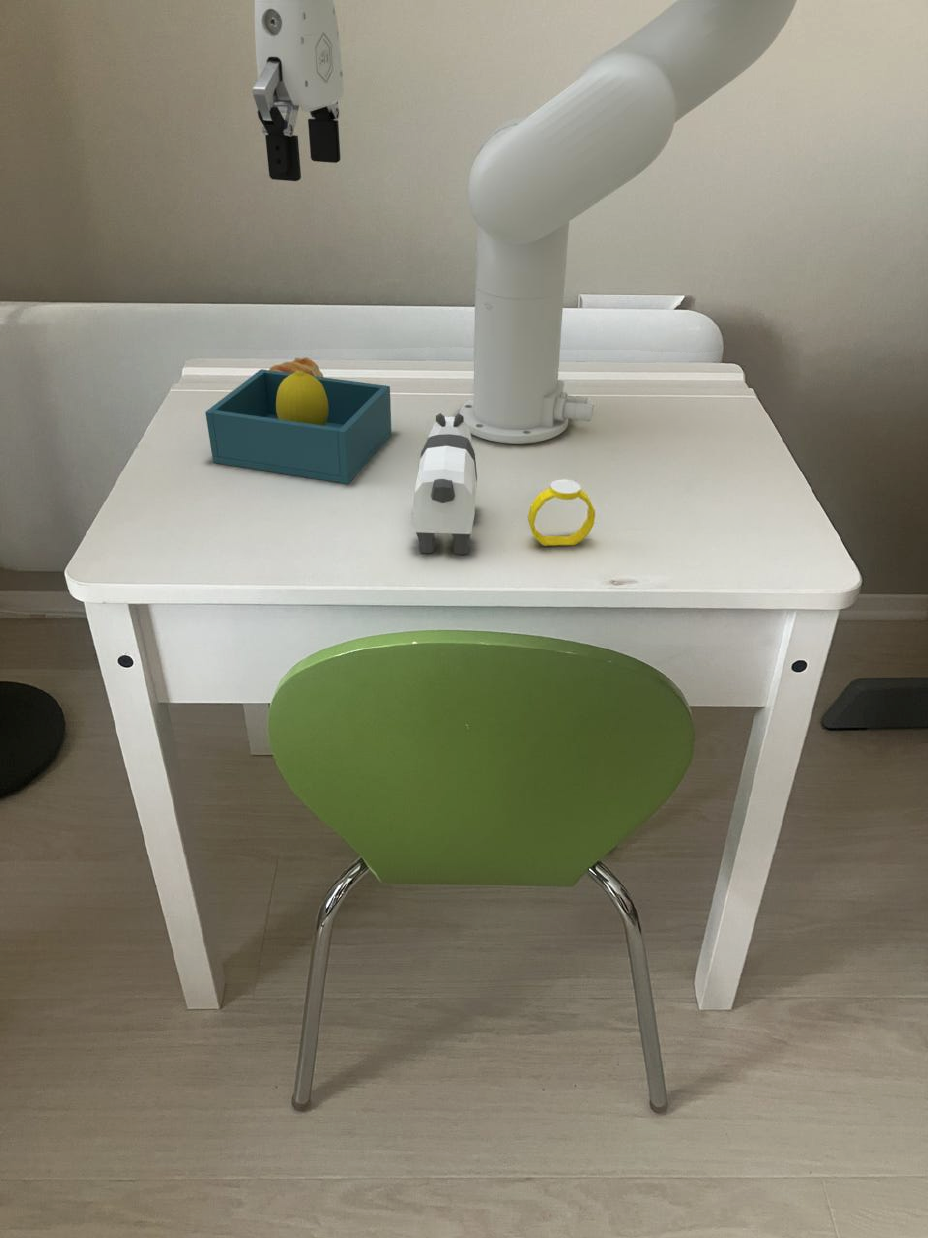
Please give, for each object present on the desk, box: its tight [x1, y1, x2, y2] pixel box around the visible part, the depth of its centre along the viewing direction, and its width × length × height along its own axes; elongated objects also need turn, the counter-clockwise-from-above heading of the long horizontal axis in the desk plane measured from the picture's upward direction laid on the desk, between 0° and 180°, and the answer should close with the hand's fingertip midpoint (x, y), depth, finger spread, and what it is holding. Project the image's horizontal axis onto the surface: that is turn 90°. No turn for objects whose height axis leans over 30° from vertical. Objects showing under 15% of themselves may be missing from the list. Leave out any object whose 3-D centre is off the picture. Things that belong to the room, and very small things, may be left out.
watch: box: [527, 478, 596, 547], centre depth 89 cm, size 6×3×6 cm, turn 98°
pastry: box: [268, 357, 324, 377], centre depth 117 cm, size 9×7×4 cm
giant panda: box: [411, 412, 478, 556], centre depth 91 cm, size 15×6×10 cm, turn 177°
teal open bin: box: [204, 368, 393, 485], centre depth 105 cm, size 16×13×6 cm
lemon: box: [276, 370, 329, 426], centre depth 104 cm, size 6×6×8 cm
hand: (306, 170), depth 99 cm, fingers open, 9 cm apart
